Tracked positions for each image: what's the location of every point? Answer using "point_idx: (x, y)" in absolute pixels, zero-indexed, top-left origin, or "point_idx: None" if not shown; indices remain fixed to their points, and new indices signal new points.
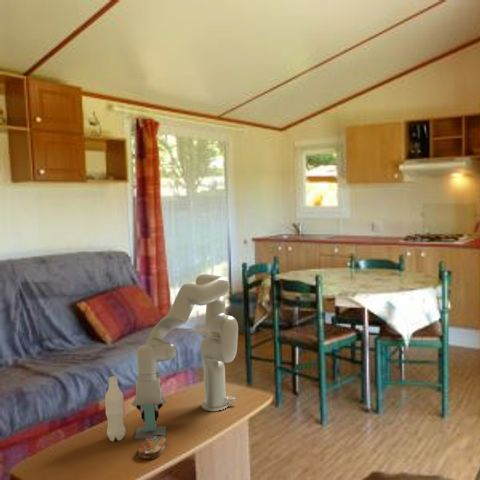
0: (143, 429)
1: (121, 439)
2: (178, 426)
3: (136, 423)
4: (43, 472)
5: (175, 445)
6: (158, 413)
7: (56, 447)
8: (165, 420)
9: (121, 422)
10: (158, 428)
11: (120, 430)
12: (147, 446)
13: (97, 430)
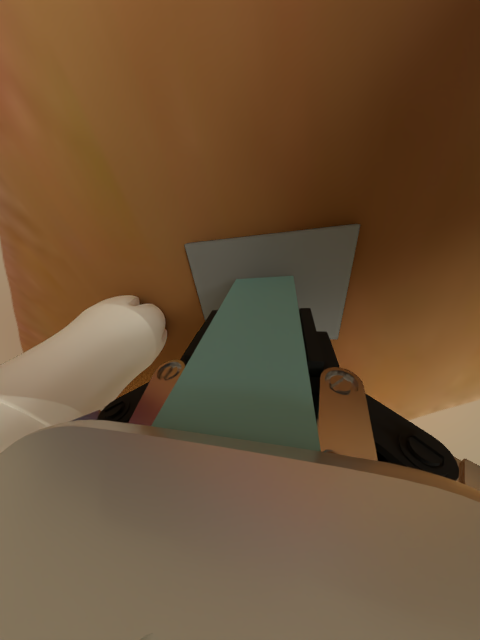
0: (223, 266)
1: (166, 331)
2: (452, 211)
3: (150, 149)
4: None
5: (369, 390)
6: (331, 349)
7: (28, 342)
8: (368, 60)
9: (124, 385)
10: (305, 259)
11: (147, 367)
12: None
13: (28, 243)
